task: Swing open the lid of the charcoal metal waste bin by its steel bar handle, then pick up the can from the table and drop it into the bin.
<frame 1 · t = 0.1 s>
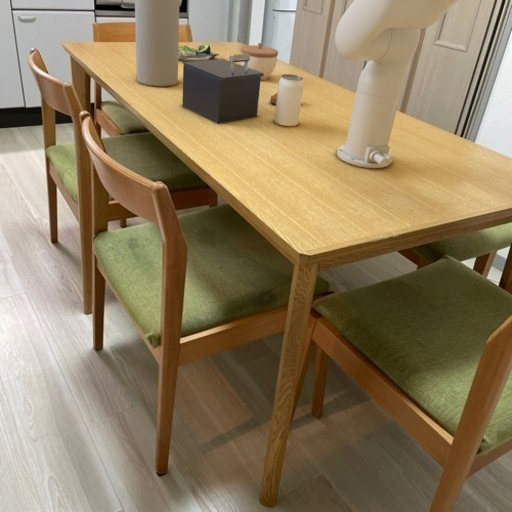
can: (285, 123, 139), on the table
bin: (219, 111, 141), on the table
salad plate: (191, 58, 194), on the table
bin lid: (223, 60, 134), point 14 cm above the table, hinge at 0.0°
cylinder vase: (157, 82, 161), on the table
pastry: (285, 104, 155), on the table
lidded bowl: (256, 77, 179), on the table
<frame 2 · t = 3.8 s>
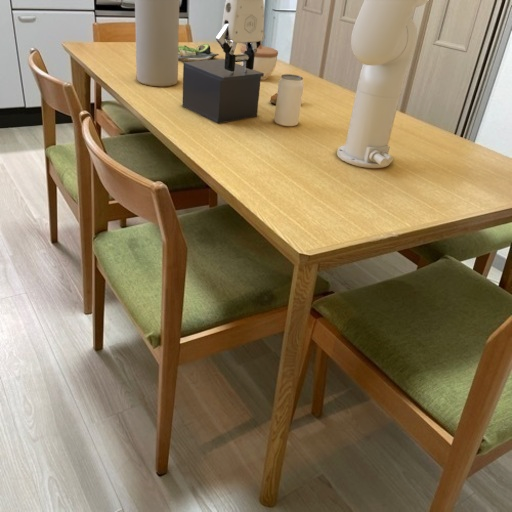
hand: (238, 68, 131), 13 cm above the table, tool pointing down, fingers closed on bin lid, 5 cm apart
bin lid: (223, 60, 134), point 14 cm above the table, hinge at 0.0°, touching gripper
everything else where it was.
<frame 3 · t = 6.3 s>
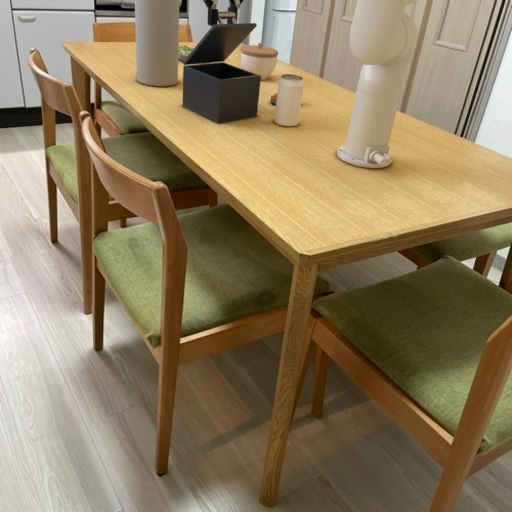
hand: (222, 24, 130), 22 cm above the table, tool pointing down, fingers closed on bin lid, 5 cm apart
bin lid: (215, 36, 133), point 19 cm above the table, hinge at 43.4°, touching gripper
everything else where it was.
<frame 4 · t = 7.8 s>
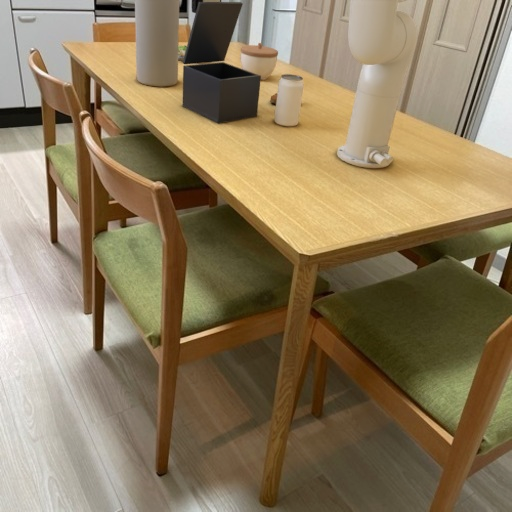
hand: (206, 12, 133), 24 cm above the table, tool pointing down, fingers closed on bin lid, 5 cm apart
bin lid: (207, 28, 135), point 20 cm above the table, hinge at 69.0°, touching gripper
everything else where it was.
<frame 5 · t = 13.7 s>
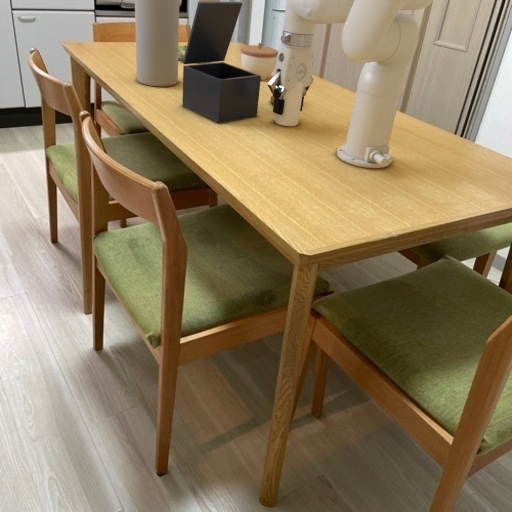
hand: (287, 111, 137), 3 cm above the table, tool pointing down, fingers closed on can, 6 cm apart
can: (285, 123, 139), on the table, touching gripper
bin lid: (207, 28, 135), point 20 cm above the table, hinge at 69.4°
everything else where it was.
when the fingers open (10 cm above the table, at t = 21.0 s): can drops 6 cm, resting on bin.
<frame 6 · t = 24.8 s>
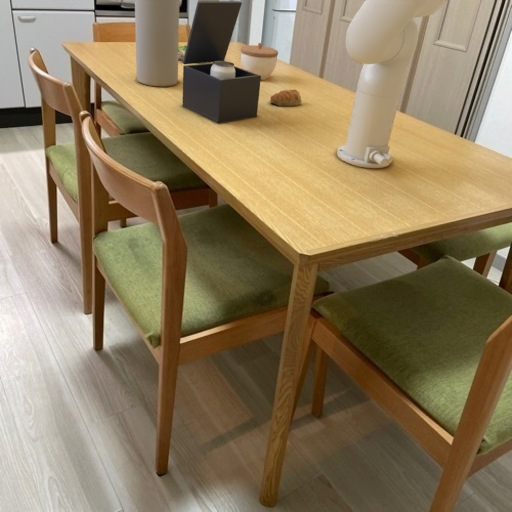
can: (220, 110, 140), point 1 cm above the table, touching bin
bin lid: (206, 28, 135), point 20 cm above the table, hinge at 70.3°
everything else where it was.
at the end: bin lid at +70° (first picture: +0°); can inside the target area in the bin (0.8 cm from its centre), point 0.6 cm above the bin's base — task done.
